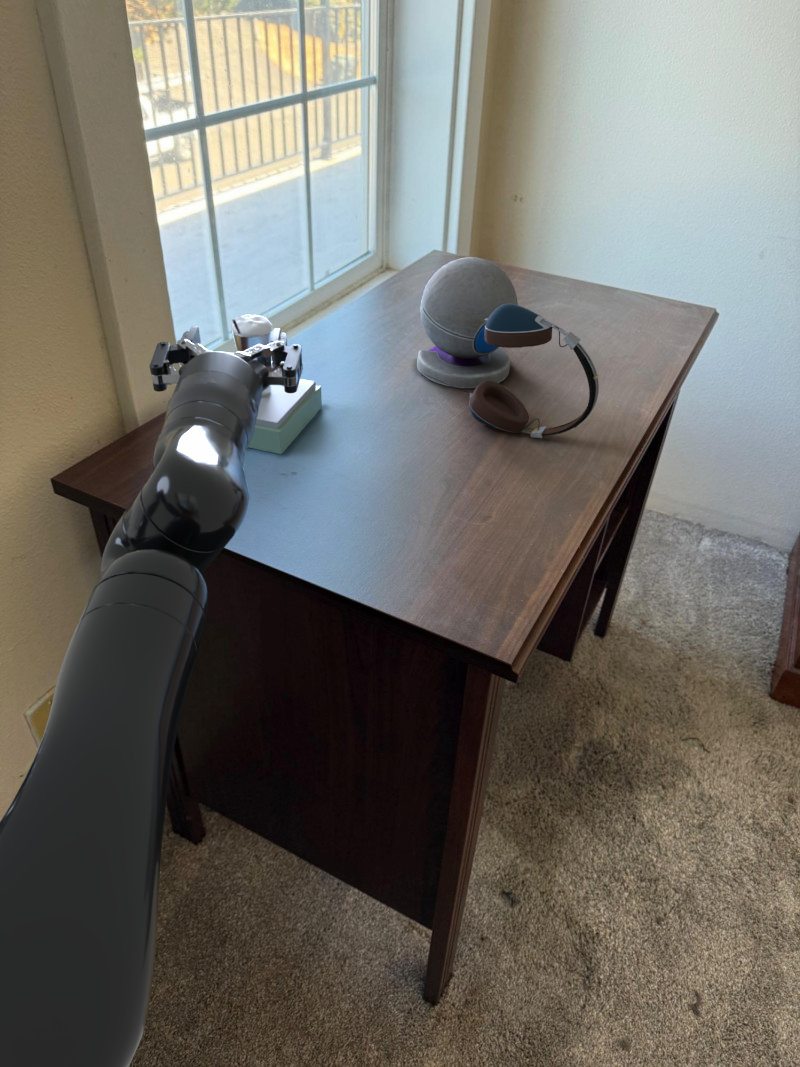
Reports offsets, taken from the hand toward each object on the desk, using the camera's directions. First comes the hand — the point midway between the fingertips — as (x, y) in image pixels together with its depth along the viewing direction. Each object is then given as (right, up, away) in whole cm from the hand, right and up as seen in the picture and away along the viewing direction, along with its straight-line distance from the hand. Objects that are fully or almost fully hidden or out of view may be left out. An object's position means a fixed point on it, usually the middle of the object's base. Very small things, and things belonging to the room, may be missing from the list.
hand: (237, 335), depth 79 cm
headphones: (+29, -8, +14) cm, 33 cm away
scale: (0, -7, +13) cm, 14 cm away
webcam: (+26, +2, +26) cm, 37 cm away
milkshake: (0, -4, +10) cm, 11 cm away
